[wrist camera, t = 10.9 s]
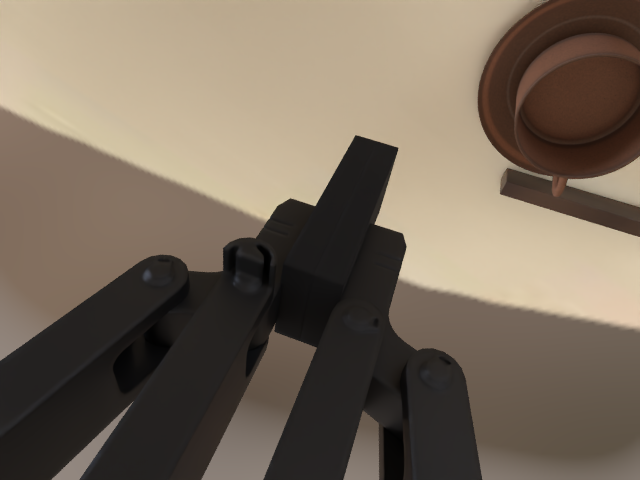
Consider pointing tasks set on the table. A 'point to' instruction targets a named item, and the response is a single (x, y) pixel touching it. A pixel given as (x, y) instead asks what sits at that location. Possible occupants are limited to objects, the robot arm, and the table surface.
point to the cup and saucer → (566, 90)
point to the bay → (572, 202)
